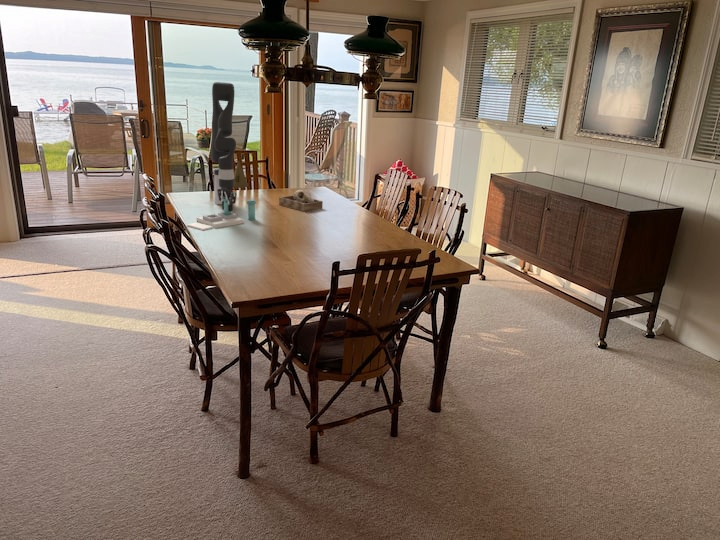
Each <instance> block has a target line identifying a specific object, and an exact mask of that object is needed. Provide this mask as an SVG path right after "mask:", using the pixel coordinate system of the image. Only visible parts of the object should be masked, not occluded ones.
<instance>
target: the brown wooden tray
mask: <svg viewBox="0 0 720 540" xmlns="http://www.w3.org/2000/svg"><path fill="white" fill-rule="evenodd" d="M293 195H294V194H291V195H287V196H281V197H278V200H279V201H278V203H279V206H282V207H283V206H284V207H286V208H289V207H290V209H294V210H296V209H297V211H301V212H305V213H306V212H310V211H311V212H312V211H317V210H323V200H319V199H315V198H313V200H314V202H312V203H306V204H305V203H301V202H297V201H294V198H293Z"/></svg>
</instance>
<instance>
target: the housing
mask: <svg viewBox="0 0 720 540" xmlns="http://www.w3.org/2000/svg"><path fill="white" fill-rule="evenodd" d="M197 221H198V222H197ZM196 222H197V223H201V224H205V225H208V226H212V227H213V229H214V228H215V229H217V228H219V229H220V228H224V227H229V226H234V225H236V226H237V225H240V224H244V223H245V221H244V218H242V217H238V214H237V213H235V212H233V211H231V215H224V212H218V213H217V214H216V213H213V214H206V215H202V216H197V217H196Z"/></svg>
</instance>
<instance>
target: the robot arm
mask: <svg viewBox="0 0 720 540" xmlns="http://www.w3.org/2000/svg"><path fill="white" fill-rule="evenodd" d="M211 90H212V91H211V92H212V93H211V97H212V114H211V115H212V118H211V147H210V158H211V161H212V162H213V163H218V167H216V168H215V169H214V170H213V175H214V176H213V177H214V187H213V191H214V192H213V193H214V196H213V197H214V203H215V204H216V205H221V209H222V210H223V211H224V201H223V198H225V197H226V200H228V211H229V212H233V210H234V209H233V208H234V207H233V205H234V204H236V201H237V192H234V189H233V187H234V173H235V171H234V155H235V152H236V148H237V141H236V140H235V138H233V137H230V136H231V135H233V115H234V114H233V113H234V106H235V86H234V83H231V82H223V81H214V82H213V83H212V89H211ZM222 101H223V102H227V104H226V106H225V108H224V109H223V107H222V106H221V103H220V102H222ZM229 200H230V201H229Z"/></svg>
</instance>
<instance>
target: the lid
mask: <svg viewBox="0 0 720 540" xmlns="http://www.w3.org/2000/svg"><path fill="white" fill-rule="evenodd" d="M186 226H187V227H189V228H193V229H196V230H200V231H206V230H212V229H214V227H212V226H208V225H206V224H203V223H200V222H197V221H196V222H192V223H187V224H186Z"/></svg>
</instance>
